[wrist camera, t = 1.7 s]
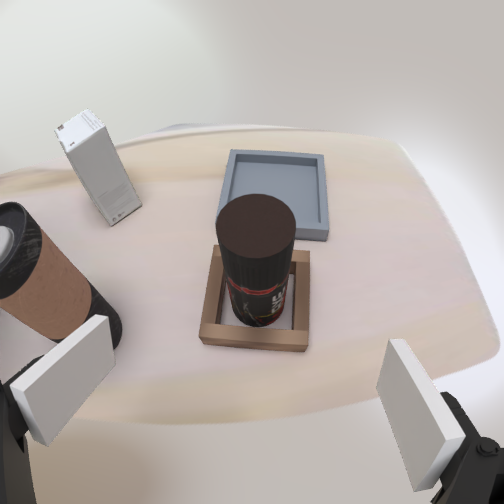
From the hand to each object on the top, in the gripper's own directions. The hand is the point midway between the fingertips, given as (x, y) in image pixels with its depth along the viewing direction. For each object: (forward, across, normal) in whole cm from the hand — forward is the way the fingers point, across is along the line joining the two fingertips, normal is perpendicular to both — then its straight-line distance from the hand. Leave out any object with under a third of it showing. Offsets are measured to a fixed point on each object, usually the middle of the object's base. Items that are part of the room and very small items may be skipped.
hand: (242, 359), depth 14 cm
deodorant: (+22, -1, -6) cm, 23 cm away
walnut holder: (+22, -1, -6) cm, 23 cm away
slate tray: (+33, 0, +5) cm, 34 cm away
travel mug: (+18, -20, -10) cm, 28 cm away
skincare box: (+32, -24, +4) cm, 40 cm away
